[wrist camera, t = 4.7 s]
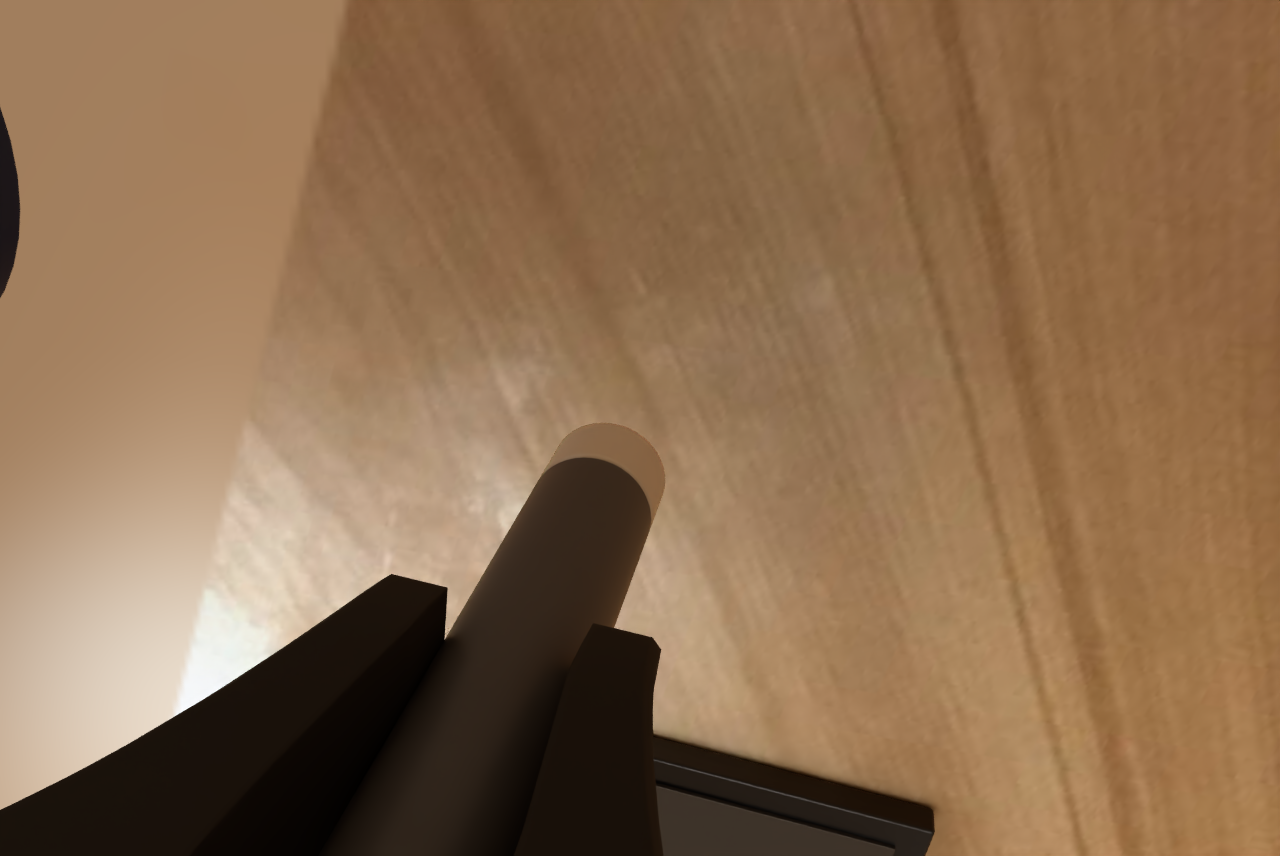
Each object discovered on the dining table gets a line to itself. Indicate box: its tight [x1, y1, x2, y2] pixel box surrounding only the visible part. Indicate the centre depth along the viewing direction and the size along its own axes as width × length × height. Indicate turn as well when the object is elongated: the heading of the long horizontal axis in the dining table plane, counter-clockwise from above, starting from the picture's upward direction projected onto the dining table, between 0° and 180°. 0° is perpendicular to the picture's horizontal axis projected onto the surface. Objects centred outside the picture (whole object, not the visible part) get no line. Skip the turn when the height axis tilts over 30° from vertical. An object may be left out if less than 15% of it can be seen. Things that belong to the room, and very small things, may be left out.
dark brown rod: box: [318, 423, 665, 856], centre depth 10 cm, size 2×2×11 cm
